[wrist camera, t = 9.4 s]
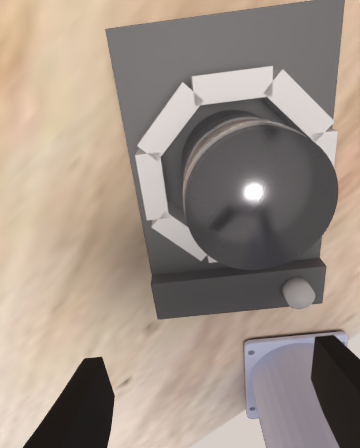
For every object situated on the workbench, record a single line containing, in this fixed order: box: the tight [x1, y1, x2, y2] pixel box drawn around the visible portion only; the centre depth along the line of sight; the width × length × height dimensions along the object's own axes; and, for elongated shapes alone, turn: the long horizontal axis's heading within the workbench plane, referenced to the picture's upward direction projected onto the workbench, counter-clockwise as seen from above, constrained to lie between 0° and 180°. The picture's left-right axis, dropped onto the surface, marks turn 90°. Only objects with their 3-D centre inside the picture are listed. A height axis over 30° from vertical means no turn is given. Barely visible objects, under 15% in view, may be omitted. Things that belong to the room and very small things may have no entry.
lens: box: [182, 109, 338, 270], centre depth 11 cm, size 4×4×6 cm
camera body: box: [105, 0, 345, 319], centre depth 15 cm, size 14×9×6 cm, turn 7°
